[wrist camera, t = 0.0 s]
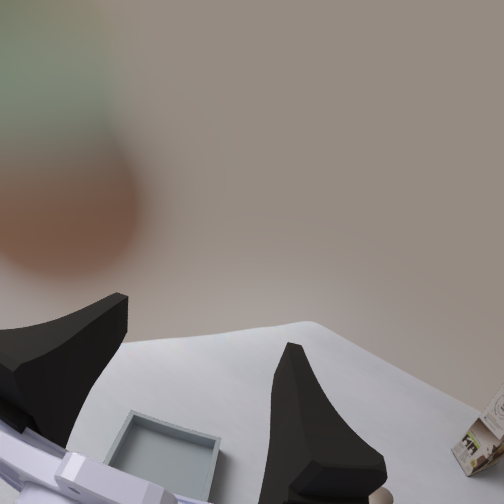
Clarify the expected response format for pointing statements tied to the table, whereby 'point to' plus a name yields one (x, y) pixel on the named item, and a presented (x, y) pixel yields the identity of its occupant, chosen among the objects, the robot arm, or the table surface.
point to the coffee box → (483, 438)
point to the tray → (165, 455)
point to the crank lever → (381, 497)
